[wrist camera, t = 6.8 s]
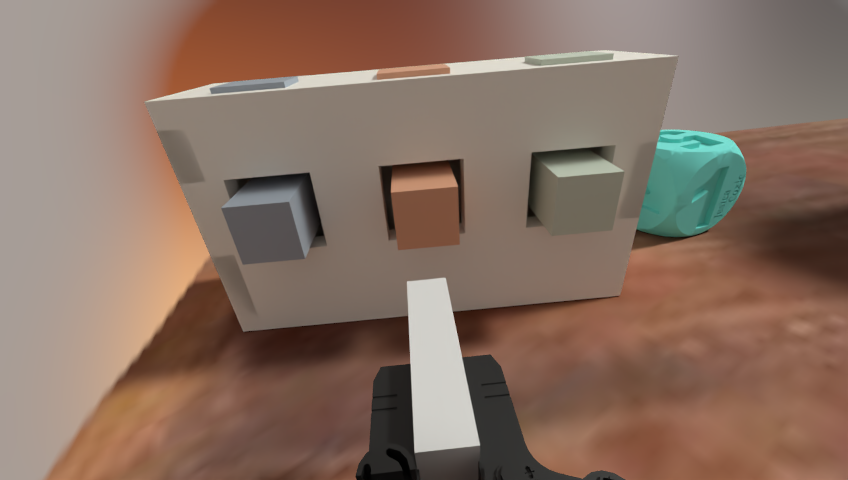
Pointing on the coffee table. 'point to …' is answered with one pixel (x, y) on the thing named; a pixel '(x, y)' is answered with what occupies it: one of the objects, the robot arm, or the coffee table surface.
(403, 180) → the terracotta button
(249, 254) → the slate button
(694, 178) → the decorative dice
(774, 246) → the coffee table surface
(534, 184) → the sage button
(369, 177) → the button box
